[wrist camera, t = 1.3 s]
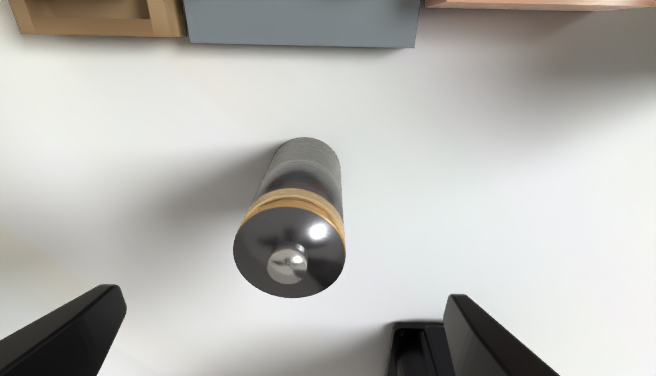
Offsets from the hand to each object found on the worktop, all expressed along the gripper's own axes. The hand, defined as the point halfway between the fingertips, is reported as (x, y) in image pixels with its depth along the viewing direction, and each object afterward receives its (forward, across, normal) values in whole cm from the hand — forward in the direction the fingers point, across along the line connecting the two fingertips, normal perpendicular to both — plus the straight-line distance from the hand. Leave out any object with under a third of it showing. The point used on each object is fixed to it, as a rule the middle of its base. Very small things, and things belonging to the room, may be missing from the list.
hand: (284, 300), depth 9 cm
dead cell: (+9, 0, 0) cm, 9 cm away
